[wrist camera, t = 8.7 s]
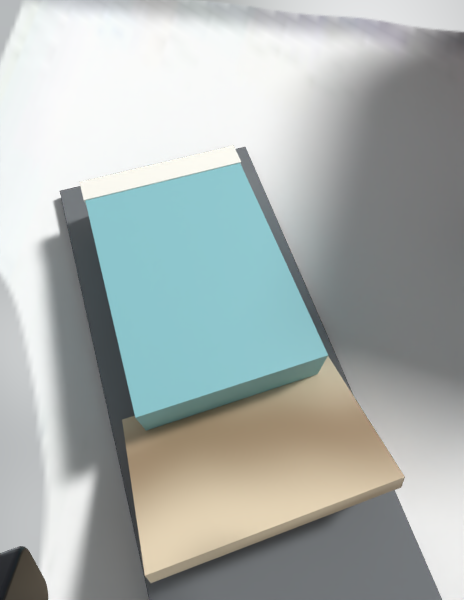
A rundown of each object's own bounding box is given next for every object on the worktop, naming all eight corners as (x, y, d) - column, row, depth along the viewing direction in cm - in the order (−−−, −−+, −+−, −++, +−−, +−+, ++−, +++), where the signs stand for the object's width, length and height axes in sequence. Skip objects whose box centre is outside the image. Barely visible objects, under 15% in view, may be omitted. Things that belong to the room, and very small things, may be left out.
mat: (505, 757, 13) (514, 765, 13) (218, 902, 12) (218, 916, 12) (244, 152, 22) (245, 146, 22) (62, 196, 21) (59, 190, 20)
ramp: (375, 487, 16) (409, 487, 13) (160, 569, 15) (147, 587, 12) (321, 360, 18) (341, 335, 15) (126, 423, 17) (108, 409, 14)
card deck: (329, 354, 15) (233, 145, 19) (133, 417, 14) (79, 181, 18) (318, 374, 16) (233, 179, 21) (144, 431, 15) (93, 214, 20)
